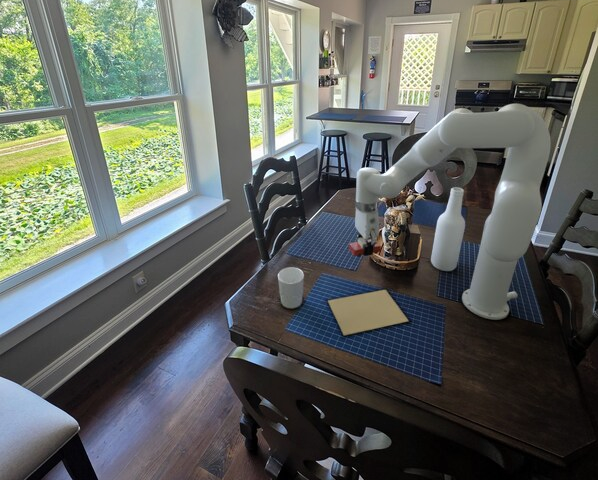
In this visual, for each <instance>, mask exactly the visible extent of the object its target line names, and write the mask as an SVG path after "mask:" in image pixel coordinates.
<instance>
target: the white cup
mask: <svg viewBox="0 0 598 480" xmlns="http://www.w3.org/2000/svg"><path fill="white" fill-rule="evenodd" d="M304 280H305V273H304V272H303V271H302V270H301V269H300V268H298V267H293V266H292V267H291V266H289V267H285V268H282V269H281V270H279V272H278V274H277V281H278V282H277V283H278V290H279V297H280V303H281V304H282V306H283V307H284V308H286V309H295V308H296V309H297V308H298V307H300V306H301V304H303V295H304V282H305V281H304Z"/></svg>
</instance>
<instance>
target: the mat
mask: <svg viewBox="0 0 598 480" xmlns="http://www.w3.org/2000/svg"><path fill="white" fill-rule="evenodd" d="M327 303H328V305H329V307H330V310H331V311H332V314H333V316H334V318H335V319H336V321H337V324H338V326H339V329H340V330H341V333H342V335H343V336H348V335H354V334H358V333H363V332H367V331H371V330H375V329H380V328H385V327H389V326H395V325H399V324H403V323H407V322H409V319H408V318H407V317H406V315H405V313H403V311H402V310H401V308H400V307H399V306H398V304H397V303H396V302H395V300H394V299H393V298H392V296H391V295H390V294H389V292H388V290H387V289H382V290H375V291H371V292H365V293H360V294H355V295H350V296H345V297H339V298H334V299H329V300H327Z"/></svg>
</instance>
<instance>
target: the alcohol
mask: <svg viewBox="0 0 598 480" xmlns="http://www.w3.org/2000/svg"><path fill="white" fill-rule="evenodd" d="M449 194H450V195H449V198H448V202H447V205H446V208H445V211H444V212H443V213H441V214H440V215H439V217H438V218H437V221H436V226H435V231H434V240H433V245H432V251H431V256H430V263H431V264H432V266H433V267H434V268H436V269H438V270H440V271H444V272H452V271H454V270H455V269H456V268H457V266H458V262H459V259H460V252H461V247H462V243H463V239H464V234H465V230H466V229H465V228H466V220H465V218H464V217H463V215H462V208H463V198H464V194H465V190H464V189H463V188H461V187H458V186H457V187H456V186H455V187H452V188H450V193H449Z"/></svg>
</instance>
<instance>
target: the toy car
mask: <svg viewBox="0 0 598 480" xmlns="http://www.w3.org/2000/svg"><path fill="white" fill-rule="evenodd" d="M369 237H370V236H369ZM370 241H371V239H369V240H368V242H370ZM364 246H365V238H364V237H362V238H358V242H357V241H354V242H349V243H348V250H349V251H350V252H351V254H352V256H354V257H357V258H360V257H361V256H364ZM380 252H382V245H381V244H380V243H379V242H378V241H377V244H375V245H374V246H373V255H377V254H378V253H380Z"/></svg>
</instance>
